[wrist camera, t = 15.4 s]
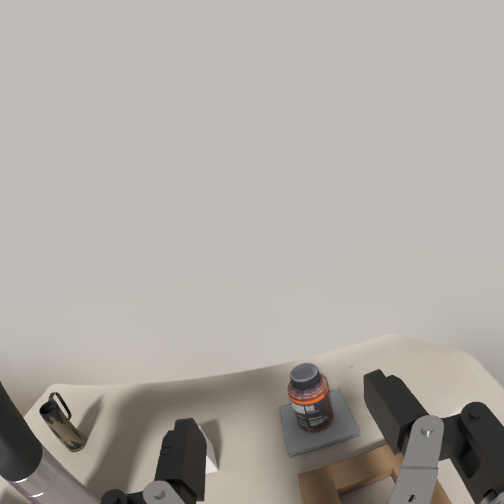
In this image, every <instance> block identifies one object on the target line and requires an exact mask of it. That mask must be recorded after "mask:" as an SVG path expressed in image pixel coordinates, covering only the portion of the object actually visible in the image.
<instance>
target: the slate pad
mask: <svg viewBox="0 0 504 504" xmlns="http://www.w3.org/2000/svg"><path fill="white" fill-rule="evenodd" d="M330 396H331V402H332V408H333V421H332V422H331V424H330V425H329V426H328V427H327V428H325V429H324V430H321V431H318V432H307V431H304V430H303V429H301V428H300V427H299V425H298V423H297V420H296V417H295V413H294V410H293V407H292V404H289V405H285V406H281V407H279V409H280V414H281V419H282V424H283V429H284V434H285V439H286V444H287V449H288V454H289V456H293V455H297V454H301V453H305V452H309V451H312V450H316V449H319V448H322V447H326V446H329V445H332V444H335V443H338V442H341V441H344V440H347V439H350V438H352V437H355V436H358V435H360V433H359V429H358V427H357V425H356V423H355V421H354V419H353V417H352V415H351V413H350V411H349V409H348V406H347V404H346V402H345V400H344V398H343V396H342V394H341V392H340V390H339V389H338V390H335V391H332V392H330Z"/></svg>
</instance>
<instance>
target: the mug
mask: <svg viewBox="0 0 504 504" xmlns="http://www.w3.org/2000/svg"><path fill="white" fill-rule="evenodd" d="M54 394H56V396H57V397H58V399H59V400H60V402H61V403H62V405H63V406H64V408H65V409H66V411H67V413H68V418H67V417H66V416H65V415H64V413H63V412H62V411H61V409H60V407H59V406H58V404H57V403H56V401H55V400H54V399H53V396H54ZM39 412H40V414H41V416H42V417H43V419H44V421H45V422H46V424H47V425H48V426H49V428H50V429H51V430H52V432H53V433H54V434H55V435H56V437H57V438H58V439H59V440H60V441H61V442H62V443H63V444H64V445H65V446H66V447H67V448H68V449H69V451H71V452H77V451H80V450H81V449H82V448H83V447H84V446H85V444H86V438H85V437H84V436H83V435H82V434H81V433H80V432H79V431H78V430H77V429H76V428H75V427H74V426H73V425H72V423H71V422H70V421H69V420H70V418H71V413H70V410H69V409H68V407H67V405H66V404H65V402H64V401H63V399H62V397H61V396H60V394H59V393H57V392H56V393H54V392H53V393H51V394H50V396H49V400H48V402H46V403H45V404H44V405H42V407H41V408H40V410H39Z"/></svg>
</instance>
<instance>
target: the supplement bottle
mask: <svg viewBox="0 0 504 504" xmlns="http://www.w3.org/2000/svg"><path fill="white" fill-rule="evenodd" d="M290 377H291V381H290V383H289V385H288V394H289V398H290V401H291V404H292V407H293V410H294V413H295V417H296V420H297V423H298V425H299V427H300V428H301V429H303V430H304V431H307V432H318V431H321V430H324V429H325V428H327V427H328V426H329V425H330V424H331V422H332V421H333V408H332V402H331V396H330V391H329V386H328V382H327V379H326V377H325V376H324V375H322V374H321V373H319V371H318V368H317V366H316V365H314V364H311V363H304V364H300V365H298V366H296V367H295V368H293V369H292V371H291V373H290Z"/></svg>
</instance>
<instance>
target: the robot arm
mask: <svg viewBox="0 0 504 504" xmlns="http://www.w3.org/2000/svg"><path fill="white" fill-rule="evenodd" d="M364 399H365V403H366V406H367V408H368V410H369V411H370V413H371V415H372V417H373V418H374V420H375V422H376V424H377V425H378V427H379V429H380V431H381V432H382V434H383V436H384V438H385V440H386V441H387V443H388V445H389V447H390V448H391V450H392V452H393V454H394V455H397V454H399V453H402V454H403V456H404V460H403V463H402V466H401V469H400V473H399V476H398V479H397V481H396V484H395V487H394V490H393V493H392V495H391V498H390V500H389V503H388V504H430V501H431V498H432V495H433V491H434V487H435V483H436V479H437V475H438V468H437V465H438V461H441V460H444V459H448V458H450V460H451V461H452V463H453V465H454V467H455V468H456V470H457V472H458V474H459V475H460V477H461V479H462V481H463V482H464V484H465V486H466V488H467V490H468V492H469V493H470V495H471V497H472V499H473V501H474V503H475V504H504V426H503V425H502V424H501V423H500V421H499V420H498V419H497V418H496V417H495V415H494V414H493V413H492V412H491V411H490V409H489V408H488V407H487V406H486V405H485V404H483V403H481V402H472V403H469V404H467V405H466V406H465V407H464V408H463V409H462V411H461V413H460V414H457V415H454V416H450V417H447V418H439V417H437V416H434V415H429V414H428V413H427V412H426V410H425V409H424V408H423V406H422V405H421V404H420V403H419V401H418V400H417V399H416V397H415V396H414V395H413V394H412V393H411V391H410V390H409V389H408V388H407V386H406V385H405V384H404V382H403V381H402V380H401V379H400V378H398V377H396V376H394V375H390V376H388V377H386V376H385V375H384V374H383V372H382V371H381V370H380V369H378V370H375V371H373V372H370V373H368V374H365V375H364ZM161 448H162V449H161V450H160V456H159V460H158V465H157V469H156V474H155V479H154V482H151V483H149V484H148V485H147V486H146V487H145V488H144V491H141V492H136V493H131V494H125V493H124V492H122V491H120V490H117V489H114V490H110V491H107V492H106V493H105V494H104V495H103V497H102V499H99V498H98V497H97V496H96V495H95V494H93V493H92V492H91V491H90V490H89V489H87V488H86V487H85V486H84V485H83V484H82V483H80V482H79V481H78V480H77V479H76V478H75V477H74V476H73V475H72V474H71V473H69V472H68V471H67V470H66V469H65V468H64V467H63V466H62V465H61V464H60V463H59V462H58V461H57V460H56V459H55V458H54V457H53V456H52V455H51V454H50V452H49V451H48V450H47V449H46V448H45V447H44V446H43V445H42V444H41V443H40V441H39V440H38V439H37V438H36V437H35V435H34V434H33V432H32V431H31V429H30V428H29V426H28V425H27V423H26V421H25V420H24V418H23V417H22V415H21V414H20V413H19V411H18V410H17V408H16V407H15V405H14V404H13V402H12V401H11V399H10V397H9V396H8V394H7V392H6V391H5V389H4V387H3V386H2V384H1V382H0V475H1V476H2V477H3V478H4V479H5V480H6V481H7V482H8V483H9V484H10V485H11V486H13V487H14V488H15V489H16V490H17V491H18V492H19V493H21V494H22V495H23V496H24V497H25V498H26V499H28V500H29V501H30V502H31V503H33V504H196V501H204V494H205V473H206V456H207V443H206V439H205V437H204V435H203V433H202V432H201V430H200V429H199V427H198V425H197V424H196V422H195V421H194V419H193V418H187V419H178V420H176V422H175V427H174V430H170V431H168V432H167V434H166V435H165V437H164V438H163V441H162V446H161Z"/></svg>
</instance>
